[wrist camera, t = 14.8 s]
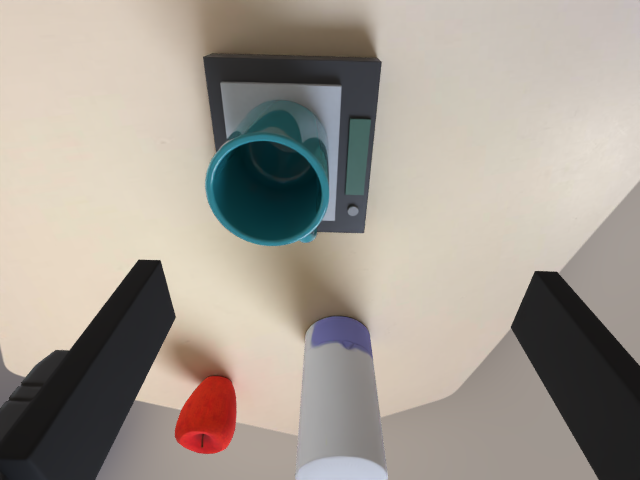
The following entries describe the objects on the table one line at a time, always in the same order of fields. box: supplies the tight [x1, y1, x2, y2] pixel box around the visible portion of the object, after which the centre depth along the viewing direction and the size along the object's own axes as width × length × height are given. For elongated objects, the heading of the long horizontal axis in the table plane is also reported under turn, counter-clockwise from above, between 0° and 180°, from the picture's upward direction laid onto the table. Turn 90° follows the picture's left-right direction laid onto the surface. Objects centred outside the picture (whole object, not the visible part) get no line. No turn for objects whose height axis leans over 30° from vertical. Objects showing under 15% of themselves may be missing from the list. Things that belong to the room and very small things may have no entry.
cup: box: [205, 100, 329, 246], centre depth 31 cm, size 9×12×11 cm
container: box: [295, 316, 388, 480], centre depth 47 cm, size 10×10×20 cm
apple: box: [175, 376, 236, 454], centre depth 58 cm, size 9×9×11 cm
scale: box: [203, 54, 382, 233], centre depth 38 cm, size 18×16×4 cm
